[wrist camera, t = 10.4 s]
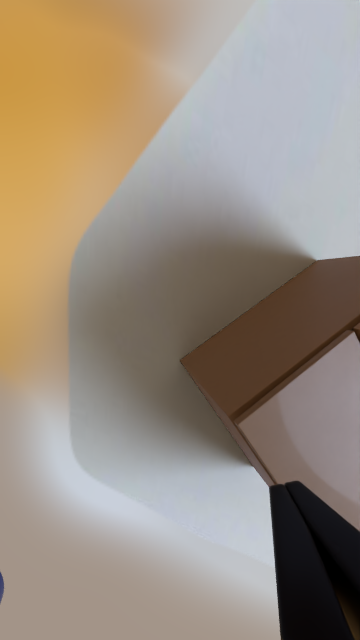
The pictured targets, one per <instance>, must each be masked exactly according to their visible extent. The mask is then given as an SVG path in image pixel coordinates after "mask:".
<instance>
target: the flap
mask: <svg viewBox="0 0 360 640" xmlns="http://www.w3.org/2000/svg"><path fill="white" fill-rule="evenodd" d="M234 422H235V424H236V425H237V427H238V428H239V430H240V431H241V433H242V434H243V436H244V437H245V438H246V440H247V441H248V443H249V444H250V446H251V447H252V449H253V450H254V452H255V453H256V455H257V456H258V458H259V459H260V460H261V462H262V463H263V465H264V466H265V468H266V469H267V471H268V472H269V474H270V475H271V477H272V478H273V480H274V481H275V482H276V484H285V483H286V482H291V481H296V480H297V481H300V482H301V483H303V484H304V485H305V486H306V487H307V488H309V489H310V490H311V491H312V492H313V493H314V494H316V495H317V496H318V497H319V498H320V499H322V500H323V501H324V502H325V503H326V504H328V505H329V506H330V507H331V508H332V509H334V510H335V511H336V512H337V513H338V514H340V515H341V516H342V517H343V518H344V519H346V520H347V521H348V522H349V523H350V524H351V525H353V526H354V527H355V528H356V529H357V530H359V531H360V342H359V340H358V338H357V336H356V334H355V332H354V331H351V330H346V331H345V332H344V333H343V334H341V335H340V336H339V337H338V338H336V339H335V340H334V341H333V342H331V343H330V344H329V345H328V346H326V347H325V348H324V349H323V350H321V351H320V352H319V353H318V354H316V355H315V356H314V357H313V358H311V359H310V360H309V361H308V362H306V363H305V364H304V365H303V366H301V367H300V368H299V369H298V370H296V371H295V372H294V373H293V374H291V375H290V376H289V377H288V378H286V379H285V380H284V381H283V382H281V383H280V384H279V385H278V386H276V387H275V388H274V389H273V390H271V391H270V392H269V393H268V394H266V395H265V396H264V397H263V398H261V399H260V400H259V401H258V402H256V403H255V404H254V405H253V406H251V407H250V408H249V409H248V410H246V411H245V412H244V413H243V414H241V415H240V416H239V417H238V418H236V419H235V420H234Z"/></svg>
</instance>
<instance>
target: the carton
mask: <svg viewBox="0 0 360 640" xmlns="http://www.w3.org/2000/svg"><path fill="white" fill-rule="evenodd" d="M346 330H351V331H354V332H355V334H356V336H357V338H358V340H359V342H360V256H354V257H345V258H335V259H325V260H317V261H316V262H314V263H313V264H312V265H310V266H309V267H307V268H306V269H305V270H303V271H302V272H301V273H299V274H298V275H296V276H295V277H294V278H292V279H291V280H290V281H288V282H287V283H285V284H284V285H283V286H281V287H280V288H279V289H277V290H276V291H274V292H273V293H272V294H270V295H269V296H268V297H266V298H265V299H263V300H262V301H261V302H259V303H258V304H257V305H255V306H254V307H252V308H251V309H250V310H248V311H247V312H246V313H244V314H243V315H241V316H240V317H239V318H237V319H236V320H235V321H233V322H232V323H230V324H229V325H228V326H226V327H225V328H224V329H222V330H221V331H219V332H218V333H217V334H215V335H214V336H213V337H211V338H210V339H208V340H207V341H206V342H204V343H203V344H202V345H200V346H199V347H197V348H196V349H195V350H193V351H192V352H191V353H189V354H188V355H186V356H185V357H184V358H182V359H181V360H180V362H181V363H182V365H183V366H184V367H185V369H186V370H187V372H188V373H189V375H190V376H191V377H192V379H193V380H194V382H195V383H196V385H197V386H198V388H199V389H200V390H201V392H202V393H203V395H204V396H205V398H206V399H207V400H208V402H209V403H210V405H211V406H212V408H213V409H214V411H215V412H216V413H217V415H218V416H219V418H220V419H221V421H222V422H223V424H224V425H225V426H226V428H227V429H228V431H229V432H230V434H231V435H232V436H233V438H234V439H235V441H236V442H237V444H238V445H239V447H240V448H241V449H242V451H243V452H244V454H245V455H246V457H247V458H248V459H249V461H250V462H251V464H252V465H253V467H254V468H255V469H256V471H257V472H258V473H259V475H260V476H261V477H262V478H263V480H264V481H265V482H266V484H267V485H268V486H269V487H270V486H271V485H276V482H275V481H274V480H273V478H272V477H271V475H270V474H269V472H268V471H267V469H266V468H265V466H264V465H263V463H262V462H261V460H260V459H259V458H258V456H257V455H256V453H255V452H254V450H253V449H252V447H251V446H250V444H249V443H248V441H247V440H246V438H245V437H244V436H243V434H242V433H241V431H240V430H239V428H238V427H237V425H236V424H235V422H234V420H235V419H236V418H238V417H239V416H240V415H241V414H243V413H244V412H245V411H246V410H248V409H249V408H250V407H251V406H253V405H254V404H255V403H256V402H258V401H259V400H260V399H261V398H263V397H264V396H265V395H266V394H268V393H269V392H270V391H271V390H273V389H274V388H275V387H276V386H278V385H279V384H280V383H281V382H283V381H284V380H285V379H286V378H288V377H289V376H290V375H291V374H293V373H294V372H295V371H296V370H298V369H299V368H300V367H301V366H303V365H304V364H305V363H306V362H308V361H309V360H310V359H311V358H313V357H314V356H315V355H316V354H318V353H319V352H320V351H321V350H323V349H324V348H325V347H326V346H328V345H329V344H330V343H331V342H333V341H334V340H335V339H336V338H338V337H339V336H340V335H341V334H343V333H344V332H345V331H346Z"/></svg>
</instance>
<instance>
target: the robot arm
mask: <svg viewBox="0 0 360 640" xmlns="http://www.w3.org/2000/svg"><path fill="white" fill-rule="evenodd" d="M269 493H270V506H271V518H272V531H273V544H274V557H275V570H276V583H277V596H278V608H279V621H280V635H281V640H360V531H359V530H357V529H356V528H355V527H354V526H353V525H351V524H350V523H349V522H348V521H347V520H346V519H344V518H343V517H342V516H341V515H340V514H338V513H337V512H336V511H335V510H334V509H332V508H331V507H330V506H329V505H328V504H326V503H325V502H324V501H323V500H322V499H320V498H319V497H318V496H317V495H316V494H314V493H313V492H312V491H311V490H310V489H309V488H307V487H306V486H305V485H304V484H303V483H301V482H300V481H297V480H296V481H291V482H286V483H285V484H276V485H271V486H270V487H269Z"/></svg>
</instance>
